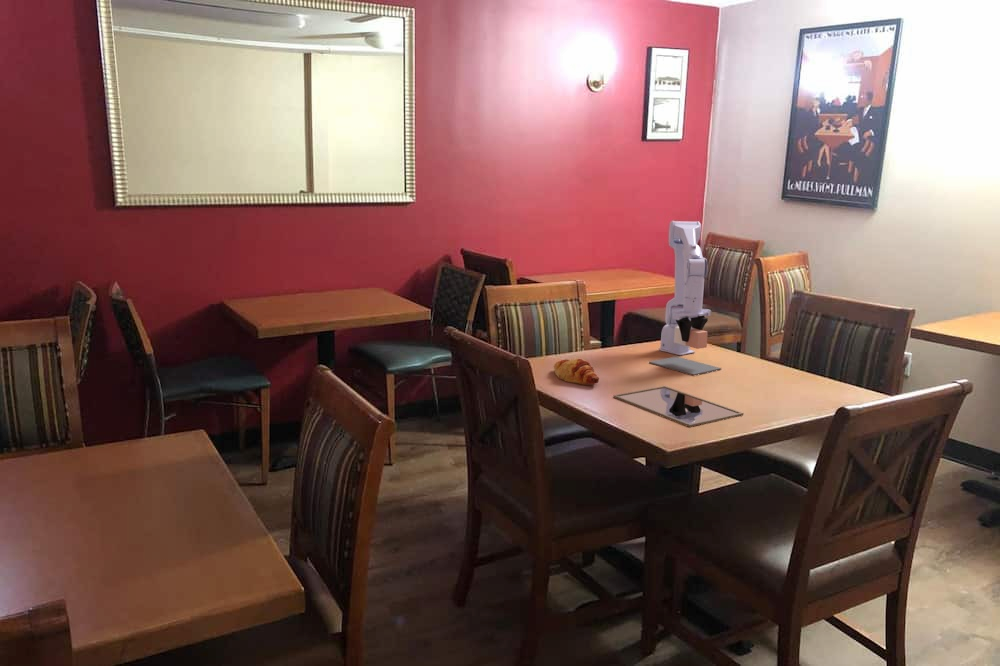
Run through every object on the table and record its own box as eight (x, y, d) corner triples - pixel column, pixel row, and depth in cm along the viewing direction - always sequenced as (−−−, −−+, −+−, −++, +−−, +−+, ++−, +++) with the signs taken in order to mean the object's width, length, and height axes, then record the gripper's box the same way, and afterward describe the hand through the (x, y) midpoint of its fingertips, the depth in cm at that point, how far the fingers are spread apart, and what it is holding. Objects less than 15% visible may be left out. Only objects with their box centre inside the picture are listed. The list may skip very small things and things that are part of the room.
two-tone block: (697, 348, 238) (698, 332, 237) (673, 342, 247) (674, 326, 245) (706, 347, 240) (707, 331, 239) (682, 341, 249) (684, 325, 248)
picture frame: (743, 416, 198) (664, 389, 221) (743, 413, 198) (665, 386, 221) (689, 429, 188) (613, 398, 211) (689, 425, 188) (613, 395, 211)
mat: (649, 363, 248) (649, 361, 248) (676, 357, 256) (676, 356, 256) (694, 375, 234) (694, 374, 234) (721, 369, 242) (721, 368, 242)
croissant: (547, 383, 236) (537, 361, 233) (571, 364, 240) (562, 343, 237) (589, 400, 218) (579, 377, 215) (614, 379, 222) (605, 357, 219)
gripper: (686, 301, 233) (683, 345, 236) (719, 297, 241) (716, 340, 244) (669, 297, 239) (666, 340, 242) (702, 294, 247) (699, 336, 250)
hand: (690, 340), depth 243 cm, fingers closed on two-tone block, 4 cm apart
